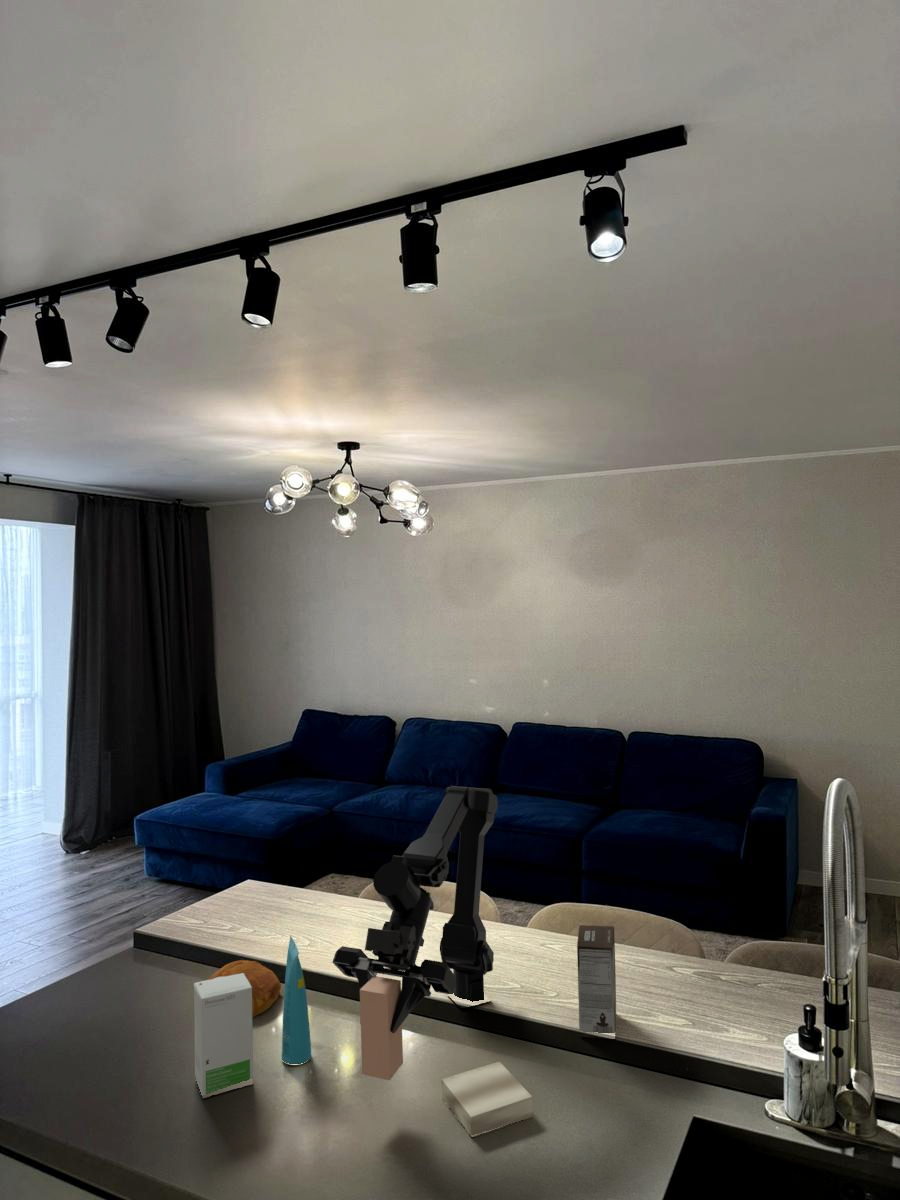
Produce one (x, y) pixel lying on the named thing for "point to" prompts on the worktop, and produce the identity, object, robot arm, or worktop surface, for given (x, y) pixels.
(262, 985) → the bread loaf
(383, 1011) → the column
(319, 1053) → the worktop surface
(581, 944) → the coffee box
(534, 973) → the worktop surface
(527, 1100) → the plinth
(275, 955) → the worktop surface
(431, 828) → the robot arm
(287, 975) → the tube
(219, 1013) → the skincare box
